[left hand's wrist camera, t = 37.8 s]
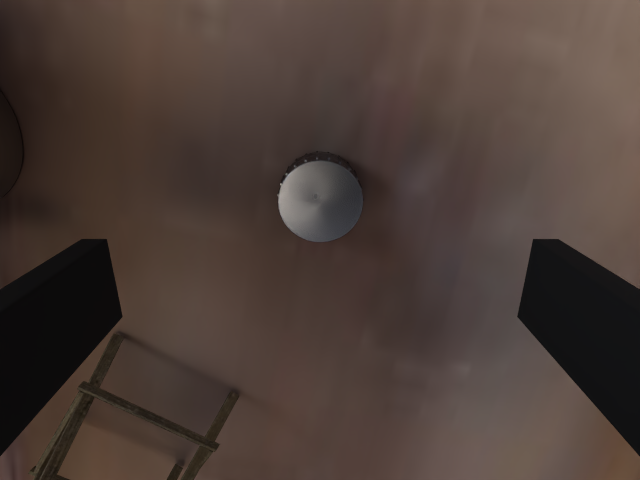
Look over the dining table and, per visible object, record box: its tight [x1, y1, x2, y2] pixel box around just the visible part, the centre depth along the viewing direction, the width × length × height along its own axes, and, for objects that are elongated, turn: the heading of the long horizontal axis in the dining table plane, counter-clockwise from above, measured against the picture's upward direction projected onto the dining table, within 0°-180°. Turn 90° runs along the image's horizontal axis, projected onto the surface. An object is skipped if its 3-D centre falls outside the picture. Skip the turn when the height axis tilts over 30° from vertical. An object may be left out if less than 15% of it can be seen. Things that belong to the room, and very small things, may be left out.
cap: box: [277, 151, 363, 242], centre depth 19 cm, size 4×4×2 cm
